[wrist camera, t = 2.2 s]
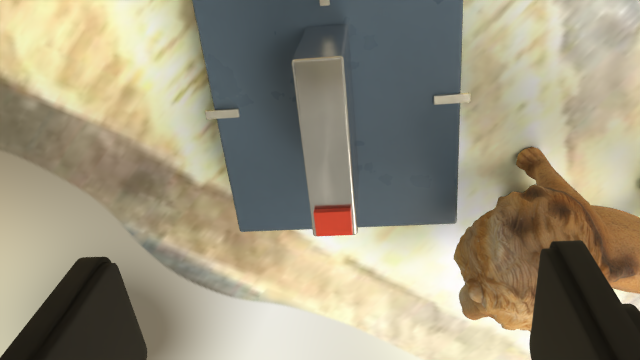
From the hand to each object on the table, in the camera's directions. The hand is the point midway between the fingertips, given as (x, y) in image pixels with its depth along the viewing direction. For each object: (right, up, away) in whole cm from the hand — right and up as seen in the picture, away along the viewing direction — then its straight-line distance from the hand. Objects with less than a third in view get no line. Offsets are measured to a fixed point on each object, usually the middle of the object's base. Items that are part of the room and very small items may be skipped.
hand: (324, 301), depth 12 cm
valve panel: (+1, +7, +12) cm, 14 cm away
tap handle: (0, +6, +10) cm, 11 cm away
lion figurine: (+12, +2, +14) cm, 19 cm away
